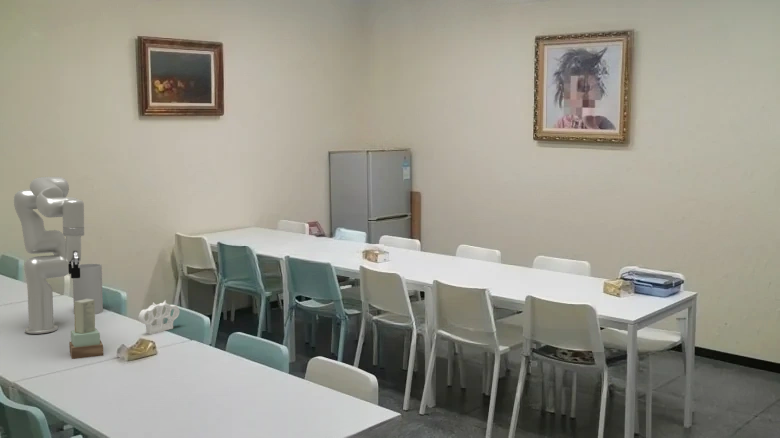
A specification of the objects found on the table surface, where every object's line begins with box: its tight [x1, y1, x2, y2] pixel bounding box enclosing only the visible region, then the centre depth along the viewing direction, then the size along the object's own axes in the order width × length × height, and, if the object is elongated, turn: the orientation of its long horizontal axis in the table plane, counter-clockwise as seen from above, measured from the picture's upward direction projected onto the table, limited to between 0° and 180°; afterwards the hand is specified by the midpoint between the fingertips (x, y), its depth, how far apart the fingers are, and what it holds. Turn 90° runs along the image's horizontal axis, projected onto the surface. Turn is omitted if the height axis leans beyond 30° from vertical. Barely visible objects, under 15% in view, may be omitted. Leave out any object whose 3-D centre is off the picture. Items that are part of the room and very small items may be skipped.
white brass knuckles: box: [138, 300, 180, 335], centre depth 320 cm, size 3×18×15 cm, turn 142°
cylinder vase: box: [72, 263, 104, 316], centre depth 350 cm, size 12×12×25 cm
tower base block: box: [68, 339, 104, 360], centre depth 289 cm, size 11×11×4 cm
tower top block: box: [70, 327, 101, 347], centre depth 289 cm, size 9×9×4 cm
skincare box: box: [73, 299, 96, 334], centre depth 288 cm, size 6×4×12 cm
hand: (74, 275), depth 291 cm, fingers open, 9 cm apart
